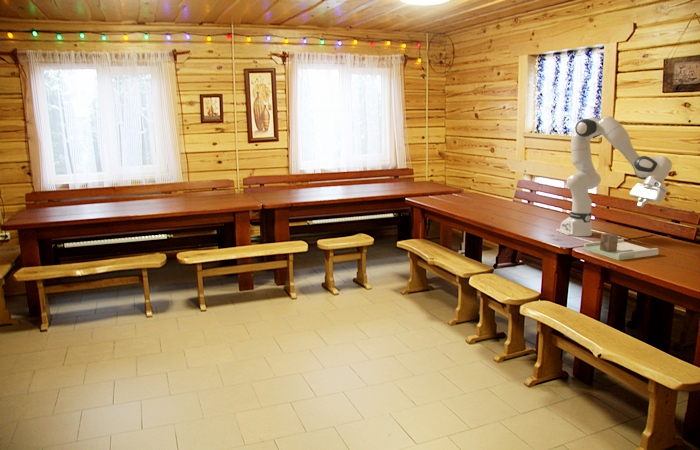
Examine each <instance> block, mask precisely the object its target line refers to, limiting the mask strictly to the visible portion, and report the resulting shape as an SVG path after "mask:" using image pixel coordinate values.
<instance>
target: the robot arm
mask: <svg viewBox="0 0 700 450" xmlns="http://www.w3.org/2000/svg"><path fill="white" fill-rule="evenodd" d="M574 129H575V132H574V133H572V135H571V139H570V153H571V154H570V155H571V162H572V165H573V166H575V168H576V170H577V172H576V173H572V174H571V175H570V176H568V177H567V179H566V187H567V188H568V189H569V191H570V193H571V198H572V205H571V211H569V212H568V214H569V216H568V217H566V218H565V219H564V220H562V221H561V223H560V225H559V227H558V228H556V230H555V231H556V232H559V233H561V234H564V235H566V236H570V237H573V236H574V237H590V236H592V235H593V231H592V214H593V213H592V203H593V201H592V198H591V197H590V195H589V190H592V189H594V188H596V187H598V186H600V184H601V180H602V179H601V176H600V174H599V173H598V172H597V171H596V169H595V166H594V164H593V159H592V152H591V139H595V138H597V137H599V136H603V137H604V138H605V139H606V141H608V143H610V145H611V146H612V147H614V148H616V150H617V151H618V152H620V154H622V155H623V157H624V158H625V159H626V160H627V161H628V162H629V164H630V165H631V166H632V167H633V170H634V174H635V176H636V177H637V178H638V179H639V180H643V182H640V181H639V182H637V183H636V184H635V185H634V186H633V187H632V188H631V190H630V191H629V196H630V197H632V198H634V199H637V204H636V206H637V207H640V208H644V206H645V205H647V204H648V203H649V202H653V203H657V204H660V203H662V201H663V200H664V199H665V196H666V193H667V192H668V191H669V189H668V187H666V186H665V185H664V181H665V179H666V178H667V177H668V176H669V174H670V171H671V169H672V168H673V162H672V161H671V160H670V159H669V158H667V157H666V156H663V155H660V156H656V157H655V156H647V155H641V156H640V155H639V153H638V152H637V151H636V150H635V148H634V147H633V144H632V142H631V137H630V135H629V133H628V131H627V130H626V128H625V127H624V126H623V125H622V124H621V123H620V122H619V121H618V120H617V119H615V118H614V117H613V116H610V115H607V116H603V117H602V118H599V117H590V118H582V119H580V120H579V121H578V122H577V123H576V124H575V128H574Z"/></svg>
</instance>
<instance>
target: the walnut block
mask: <svg viewBox="0 0 700 450" xmlns="http://www.w3.org/2000/svg"><path fill="white" fill-rule="evenodd" d="M618 239H619V234H615V233H612V232H605V233H600V240H599V241H600V250H602V251H605V252H615V251H617V242H618Z"/></svg>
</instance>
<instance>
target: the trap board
mask: <svg viewBox="0 0 700 450" xmlns="http://www.w3.org/2000/svg"><path fill="white" fill-rule="evenodd" d="M583 250H584V251H588V252H590V253H591V252H592V253H595V254H597V255H601V256H604V257H606V258H607V257H608V258H610V259H614V260H617V261H623V260H628V259H629V260H630V259H638V258H644V257H652V256H658V255H659V247H658V248H657V247H654V248H653V247H652V248H648V247H645V246H640V245H637V244H633V243H630V242H627V241H625V238H618V242H617V251H615V252H605V251H602V250H600V240H599V241H598V240H597V241H591V242H584V243H583Z"/></svg>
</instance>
